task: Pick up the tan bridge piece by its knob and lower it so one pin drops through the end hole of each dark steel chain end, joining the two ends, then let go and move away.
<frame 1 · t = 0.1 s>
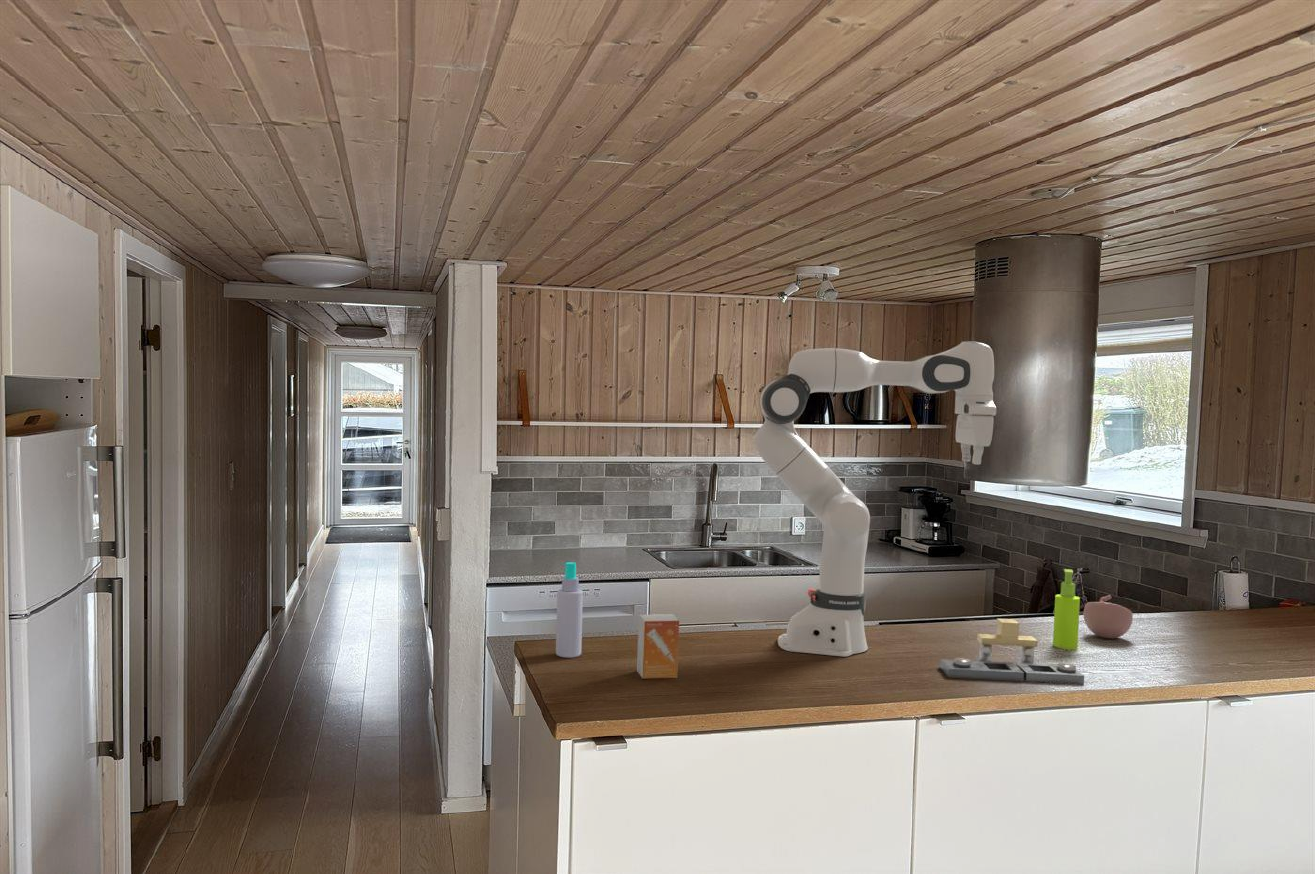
hand: (971, 462, 230), 48 cm above the countertop, fingers open, 8 cm apart
tan bridge piece: (1006, 663, 223), on the countertop
soap dispenser: (1064, 646, 242), on the countertop
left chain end: (997, 674, 214), on the countertop
right chain end: (1041, 677, 213), on the countertop
spray bottle: (568, 655, 220), on the countertop
small box: (656, 675, 206), on the countertop
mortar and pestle: (1106, 638, 252), on the countertop
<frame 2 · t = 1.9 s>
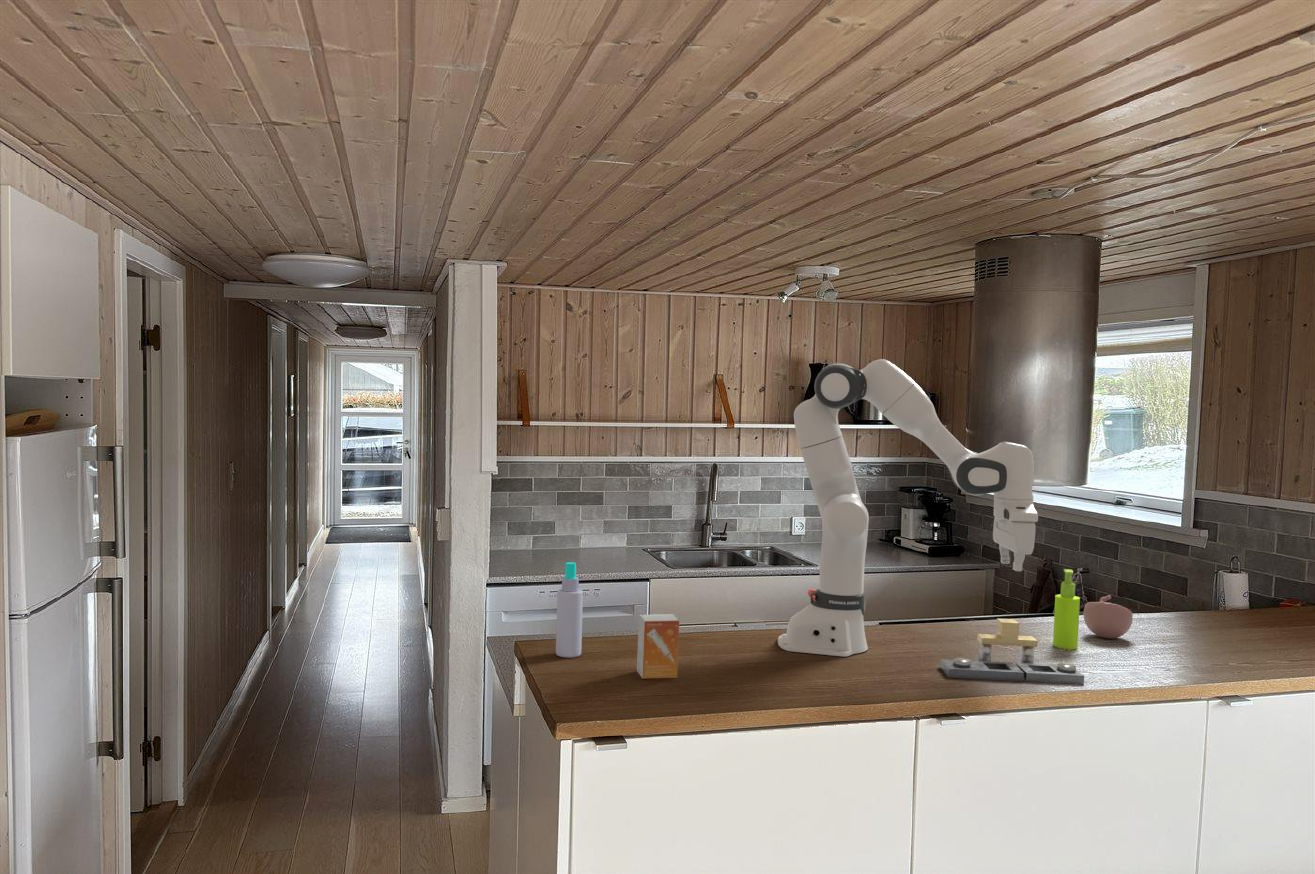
hand: (1011, 567, 222), 24 cm above the countertop, fingers open, 8 cm apart
nothing on the countertop moved.
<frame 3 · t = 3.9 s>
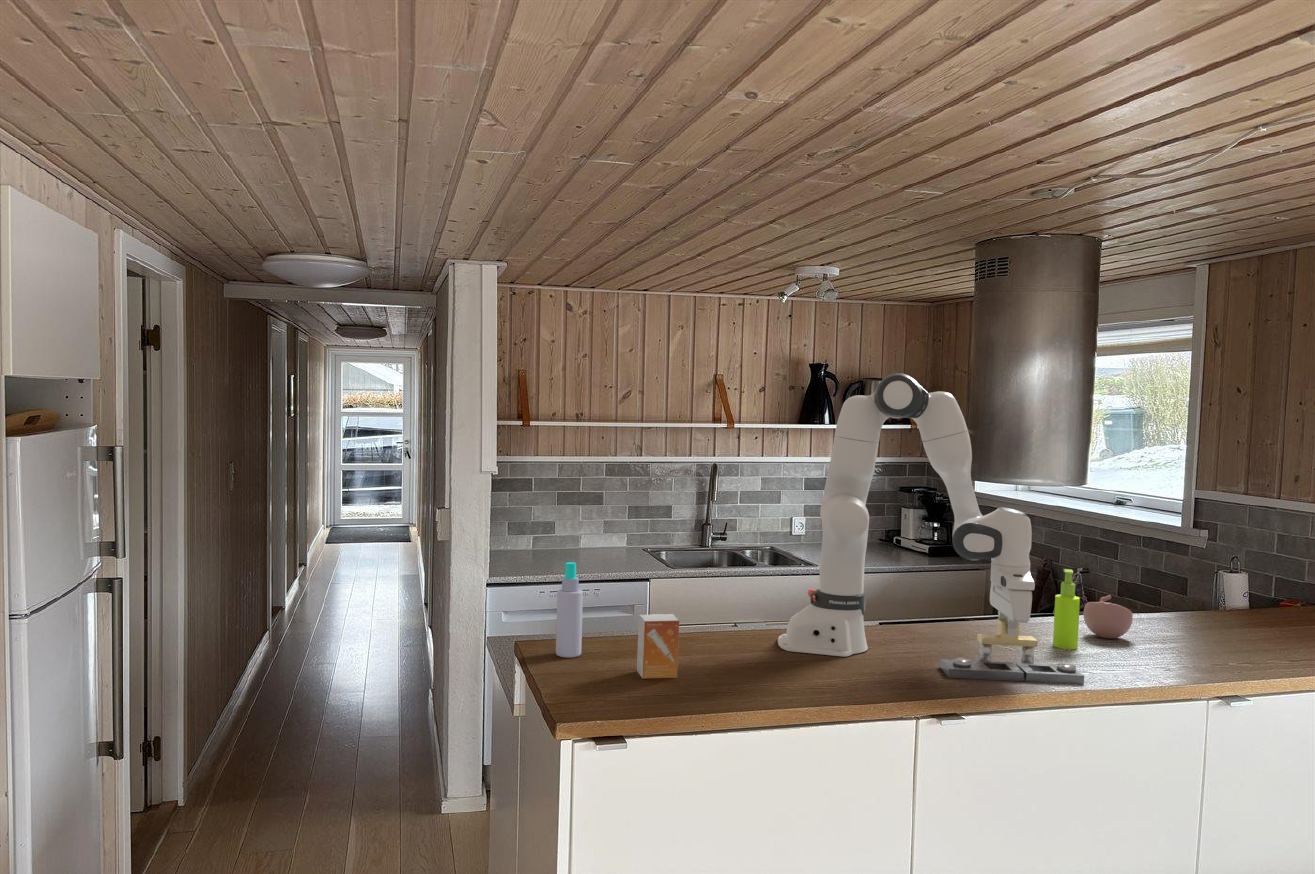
hand: (1007, 632, 223), 8 cm above the countertop, fingers closed on tan bridge piece, 4 cm apart
tan bridge piece: (1006, 663, 223), on the countertop, touching gripper
everything else where it was.
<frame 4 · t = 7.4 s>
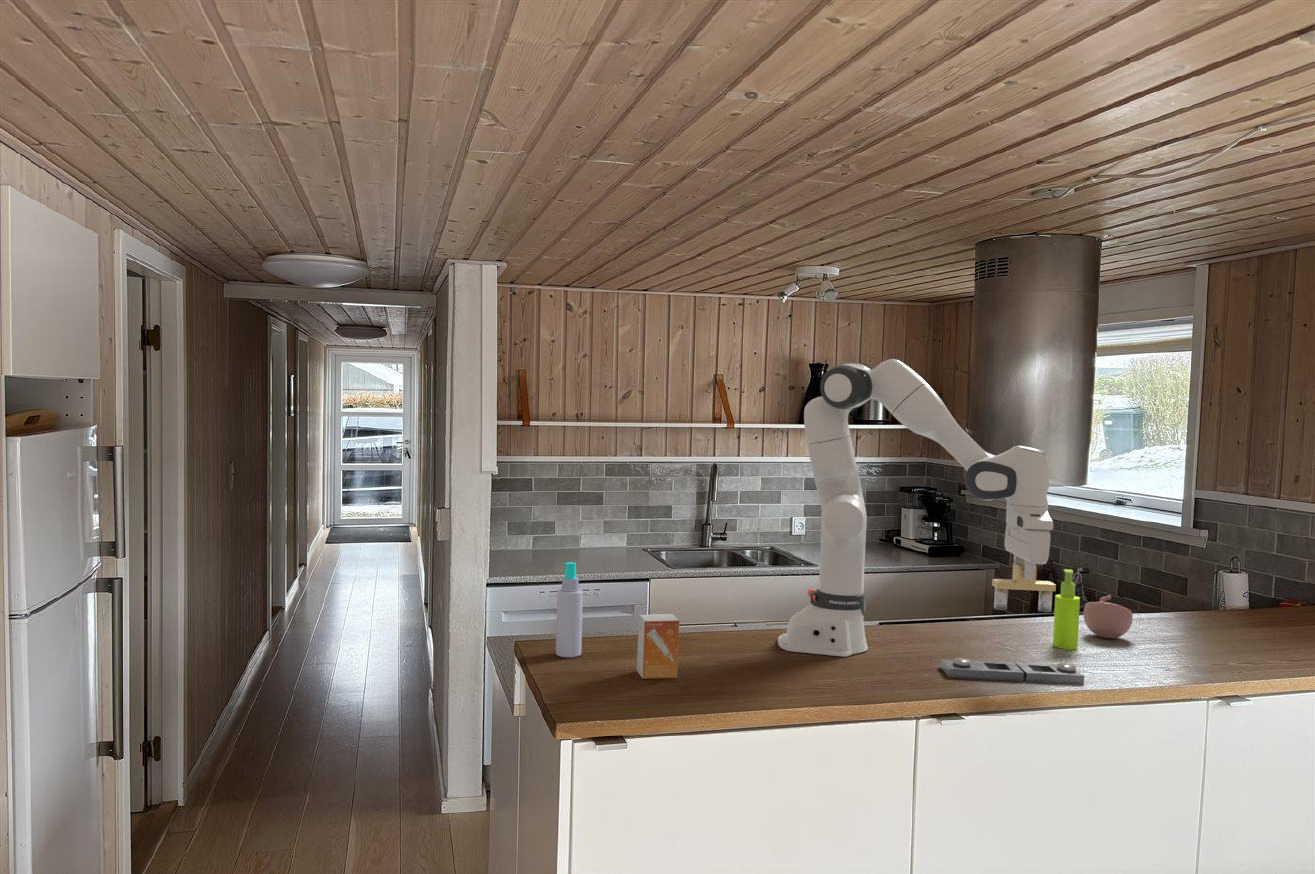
hand: (1023, 576, 212), 23 cm above the countertop, fingers closed on tan bridge piece, 4 cm apart
tan bridge piece: (1022, 609, 213), point 15 cm above the countertop, touching gripper
everything else where it was.
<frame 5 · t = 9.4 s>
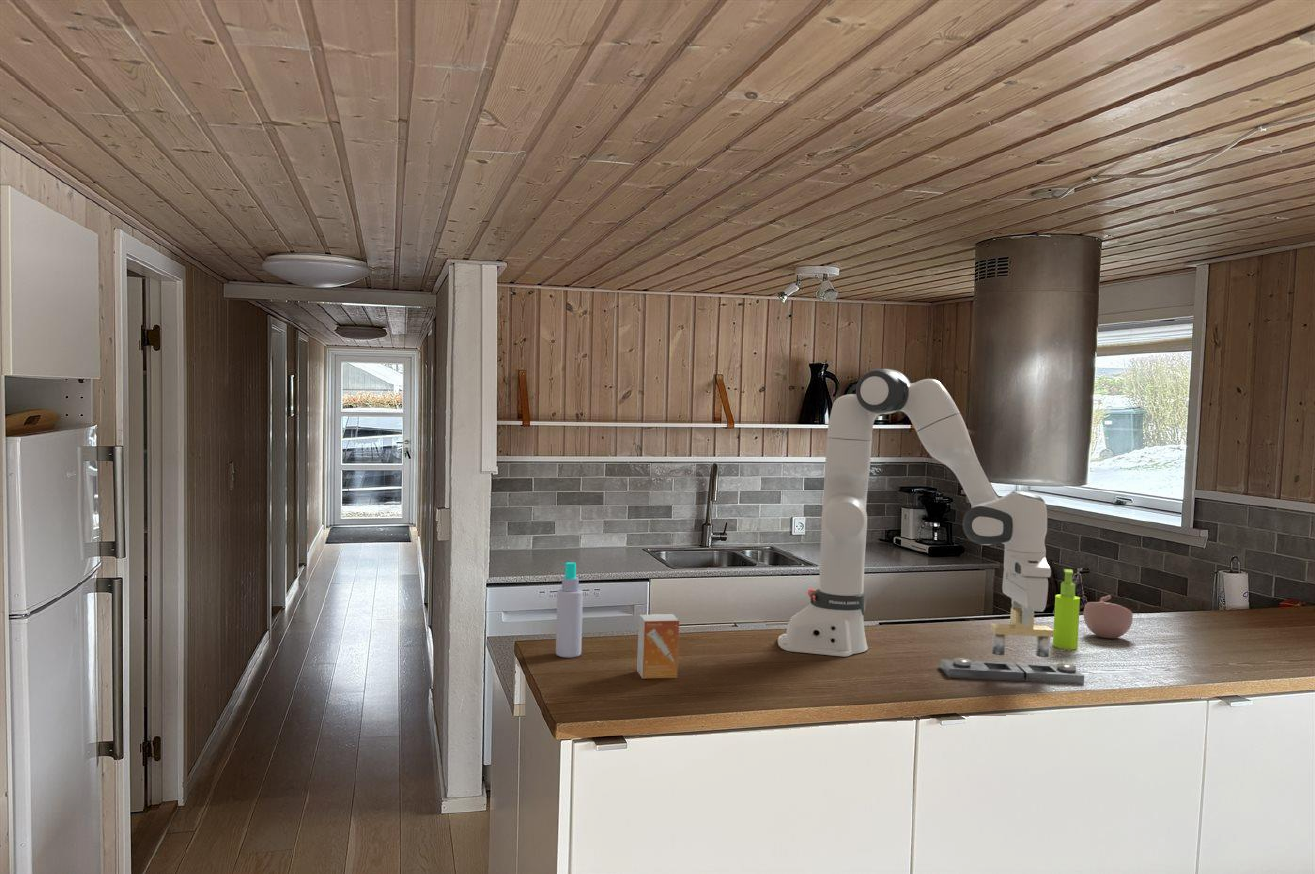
hand: (1021, 621, 213), 13 cm above the countertop, fingers closed on tan bridge piece, 4 cm apart
tan bridge piece: (1020, 654, 213), point 5 cm above the countertop, touching gripper
everything else where it was.
when the fingers open (9 cm above the countertop, at t = 10.8 s): tan bridge piece stays where it is, on the countertop.
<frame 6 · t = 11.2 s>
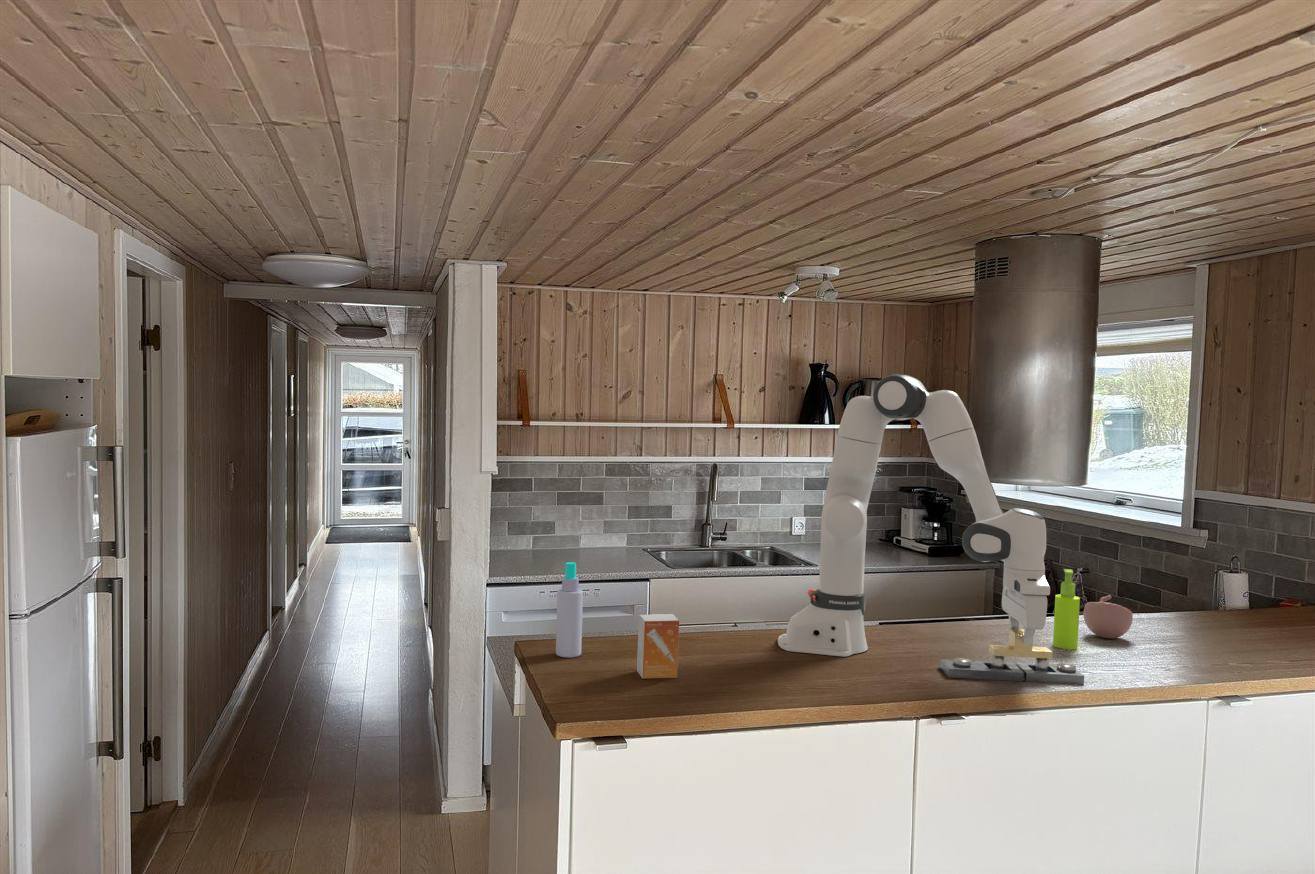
hand: (1020, 639, 213), 9 cm above the countertop, fingers open, 7 cm apart
tan bridge piece: (1019, 675, 213), on the countertop
everything else where it was.
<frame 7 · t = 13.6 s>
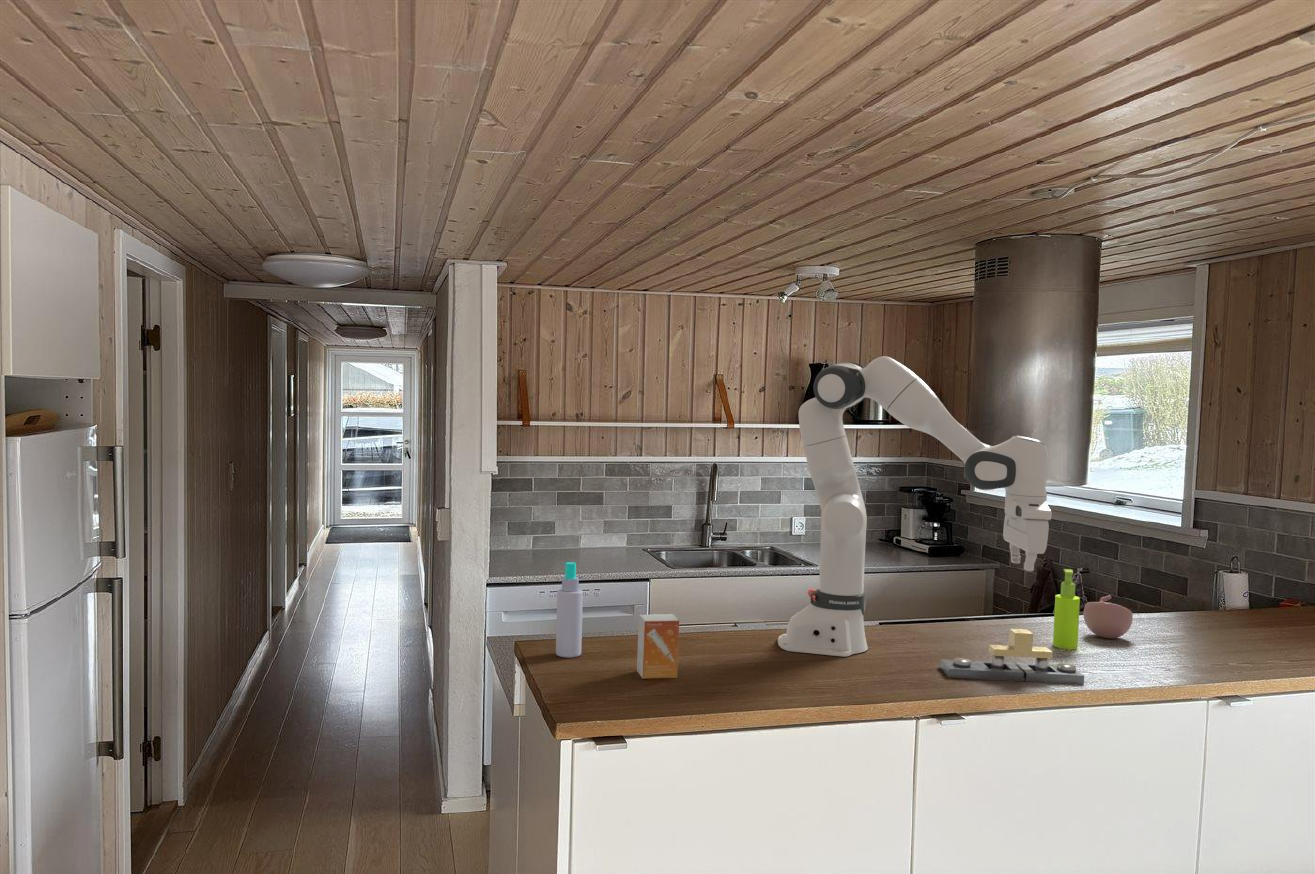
hand: (1021, 566, 213), 25 cm above the countertop, fingers open, 8 cm apart
nothing on the countertop moved.
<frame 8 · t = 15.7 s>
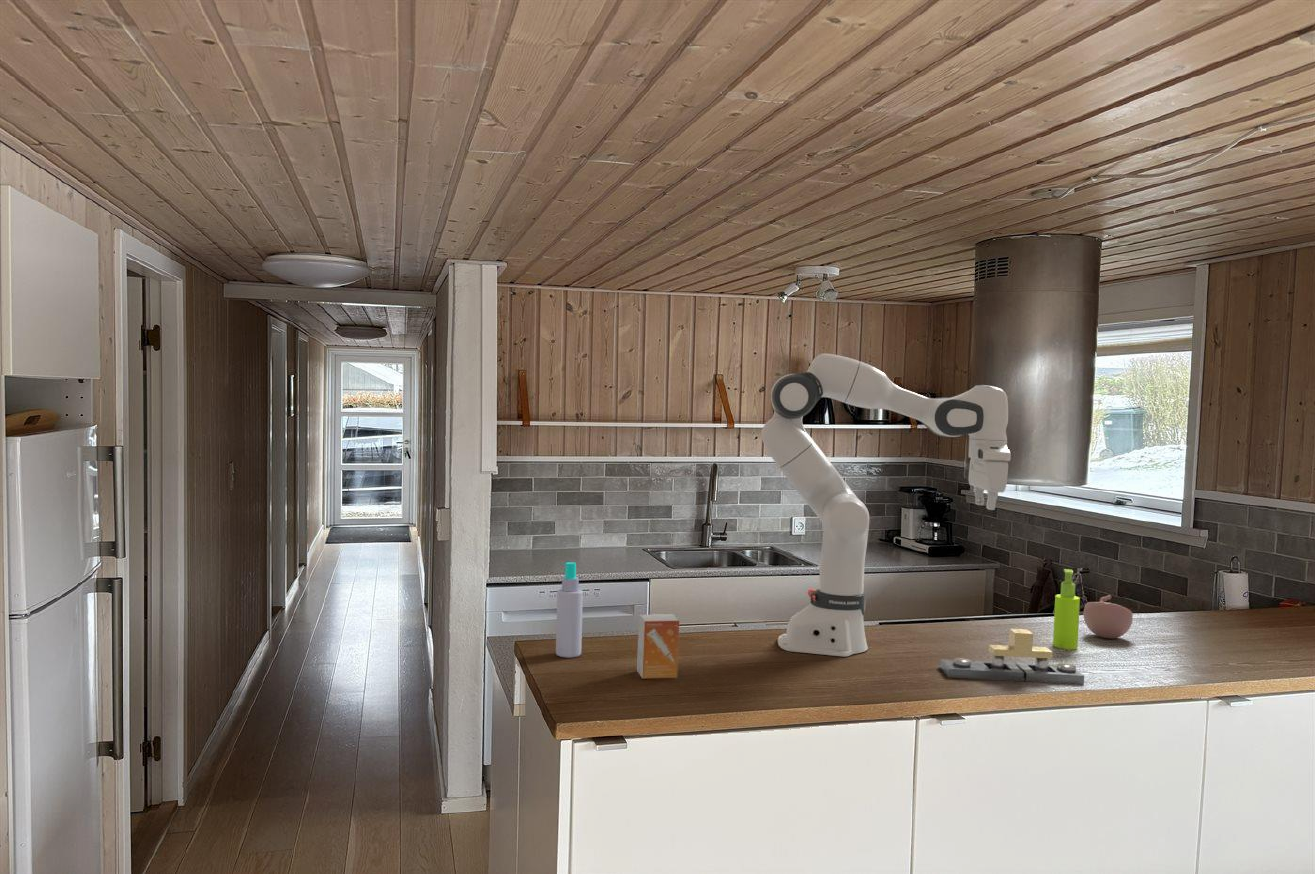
hand: (985, 507, 228), 37 cm above the countertop, fingers open, 8 cm apart
nothing on the countertop moved.
at the end: tan bridge piece 0.1 cm from the target spot, on the countertop; tan bridge piece tilted 0°; the gripper is holding nothing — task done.
